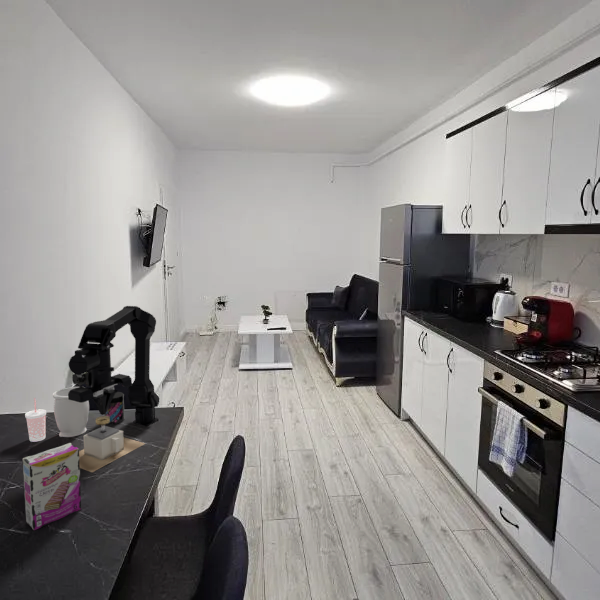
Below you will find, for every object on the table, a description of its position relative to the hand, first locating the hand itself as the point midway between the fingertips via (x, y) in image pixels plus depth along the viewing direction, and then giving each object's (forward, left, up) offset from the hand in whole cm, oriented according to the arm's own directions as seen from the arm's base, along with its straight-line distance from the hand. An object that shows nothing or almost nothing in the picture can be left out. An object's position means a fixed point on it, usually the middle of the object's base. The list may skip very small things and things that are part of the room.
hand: (102, 414), depth 138 cm
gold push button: (0, 0, -8) cm, 8 cm away
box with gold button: (0, 0, -12) cm, 12 cm away
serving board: (0, 0, -13) cm, 13 cm away
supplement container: (-18, -16, -13) cm, 27 cm away
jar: (-5, -21, -13) cm, 25 cm away
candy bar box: (+27, +15, -13) cm, 34 cm away
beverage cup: (+3, -28, -13) cm, 31 cm away
